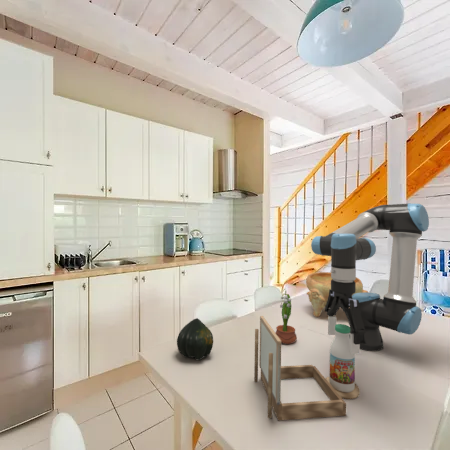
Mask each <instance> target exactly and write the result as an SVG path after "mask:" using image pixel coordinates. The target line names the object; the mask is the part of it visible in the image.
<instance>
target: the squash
mask: <svg viewBox="0 0 450 450" xmlns="http://www.w3.org/2000/svg"><path fill="white" fill-rule="evenodd" d="M213 345H214V335H213V333H212V331H211V330H210V329H209V327H207V326H206V324H205V323H203V322H202V320H200V318H198V317H196V318H194V319H192V320H190V321H189V322H188V323H187V324H185V325H184V326H183V327H182V328H181V330H180V331H179V332H178V336H177V338H176V346H177V350H178V352H179V353H180V355H182V356H183V357H184V358H194V359H196V360H197V361H200V360H202V359H203V358H206V357H208V356H209V355H210V354H211V351H212V350H213Z"/></svg>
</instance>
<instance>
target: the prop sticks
mask: <svg viewBox="0 0 450 450" xmlns="http://www.w3.org/2000/svg"><path fill="white" fill-rule="evenodd" d="M259 335H260V328H259V329H258V328H255V329H254V367H253V368H254V370H253V371H254V373H253V374H254V377H253V380H254V381H253V382H254V383H258V380H259V379H258V378H259ZM272 385H273V353H269V366H268V395H267V418H268V419H273V407H272Z"/></svg>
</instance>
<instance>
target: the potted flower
mask: <svg viewBox="0 0 450 450" xmlns="http://www.w3.org/2000/svg"><path fill="white" fill-rule="evenodd" d="M284 291H285V293H284ZM281 295H282V296H281V297H280V300H283V302H281V304H280V305H279V308H281V316H282V323H283V324H280V325H277V326H276V328H275V329H276V331H274V332H275V333H276V335H277V336H278V337H279V339H280V340H281V344H285V345H289V344H293V343H295V342H296V341H297V338H298V337H297V334H296V328H295V327H294V326H292V325H288V321H289V319H290V317H291V315H292V298H291V296H290V294H288V293H287V290H286V288H284V289H283V290H282V294H281Z"/></svg>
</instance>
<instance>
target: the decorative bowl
mask: <svg viewBox="0 0 450 450" xmlns="http://www.w3.org/2000/svg"><path fill="white" fill-rule="evenodd" d="M331 280H332V278H331V272H325V271H323V272H322V271H321V272H313V273H310V274H308V276H307V277H306V280H305V284H306V288H307V290H308V291H307V292H306V295H308V300H309V303H310V304H311V307H312V310H313V311H312V314H313V316H314V317H315V318H318V317H320V316H321V314H322V312H323V310H324V309H325V306H326V303H327V300H328V296H329V290H331ZM354 281H355V283H356V291H355V293H370V292H369V291H368V290H366V289H364V286H363V282H362V280H361V279H360V278H359V277H357V276H356V280H354ZM355 293H353V294H355ZM353 294H352V295H353Z"/></svg>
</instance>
